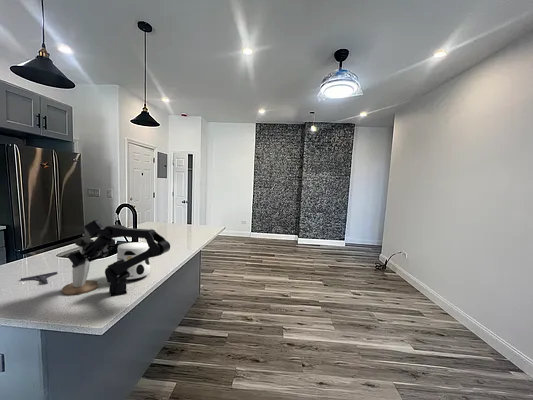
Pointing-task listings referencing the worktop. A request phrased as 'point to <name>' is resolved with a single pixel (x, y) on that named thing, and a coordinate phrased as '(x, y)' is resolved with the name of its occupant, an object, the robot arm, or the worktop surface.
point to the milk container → (131, 251)
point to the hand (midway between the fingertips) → (78, 265)
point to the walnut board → (80, 288)
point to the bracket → (40, 277)
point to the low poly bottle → (80, 272)
